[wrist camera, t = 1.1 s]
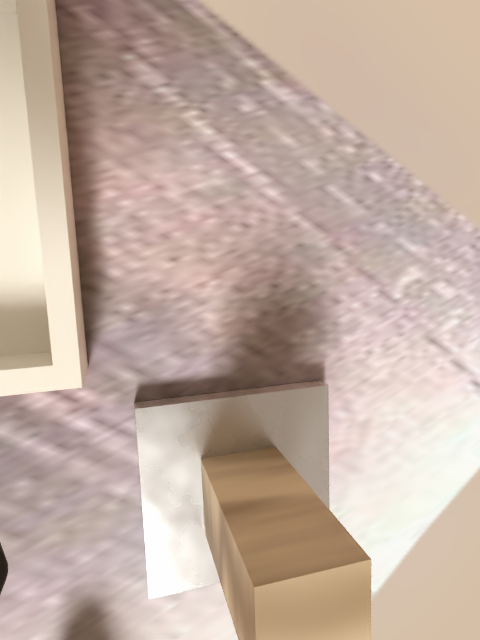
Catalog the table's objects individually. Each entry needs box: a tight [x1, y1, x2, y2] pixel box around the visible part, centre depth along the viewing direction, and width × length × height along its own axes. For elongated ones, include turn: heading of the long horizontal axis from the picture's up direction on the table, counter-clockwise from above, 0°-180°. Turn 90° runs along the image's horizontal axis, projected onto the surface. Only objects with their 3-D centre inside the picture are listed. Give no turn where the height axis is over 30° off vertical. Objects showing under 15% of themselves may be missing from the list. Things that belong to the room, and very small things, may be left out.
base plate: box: [134, 380, 329, 599], centre depth 23 cm, size 10×10×1 cm
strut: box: [201, 447, 371, 640], centre depth 18 cm, size 4×4×9 cm
